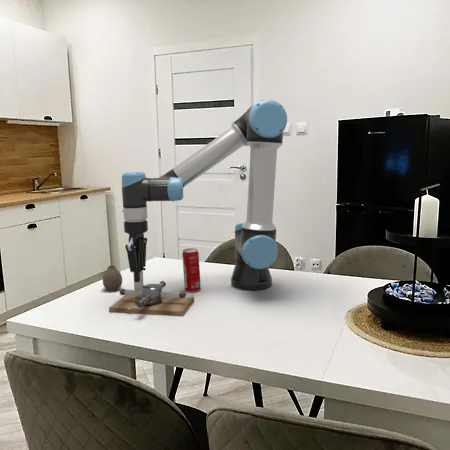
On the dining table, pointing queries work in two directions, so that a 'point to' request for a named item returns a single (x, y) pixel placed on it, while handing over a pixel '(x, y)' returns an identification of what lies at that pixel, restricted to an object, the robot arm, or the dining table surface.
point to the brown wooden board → (153, 306)
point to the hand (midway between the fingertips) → (139, 290)
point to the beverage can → (191, 270)
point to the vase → (112, 279)
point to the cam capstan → (151, 294)
